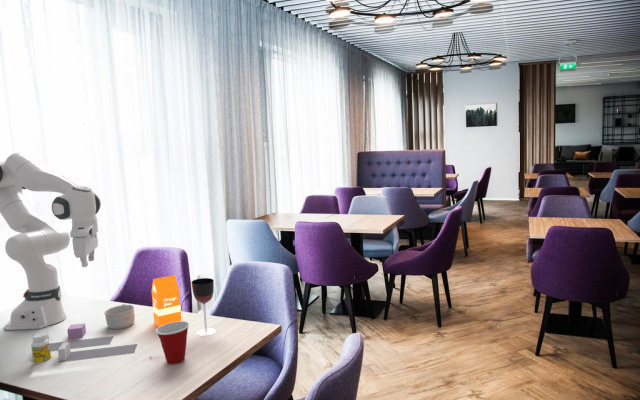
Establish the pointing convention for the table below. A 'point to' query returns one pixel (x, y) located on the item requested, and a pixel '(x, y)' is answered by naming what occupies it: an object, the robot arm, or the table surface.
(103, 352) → the empty strip
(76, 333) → the plum block
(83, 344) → the cube strip
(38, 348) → the supplement bottle
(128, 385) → the table surface
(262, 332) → the table surface
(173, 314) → the orange juice
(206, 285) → the wineglass
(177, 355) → the plastic cup
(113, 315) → the teacup
